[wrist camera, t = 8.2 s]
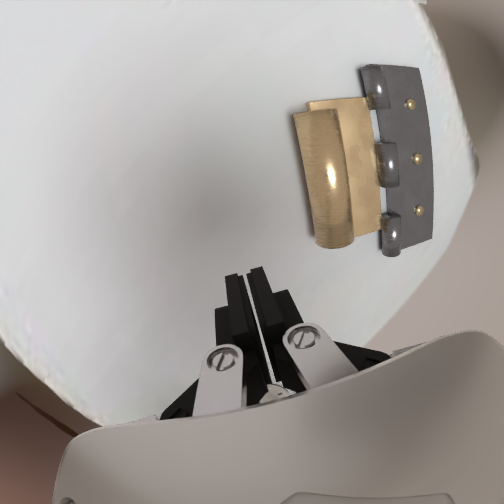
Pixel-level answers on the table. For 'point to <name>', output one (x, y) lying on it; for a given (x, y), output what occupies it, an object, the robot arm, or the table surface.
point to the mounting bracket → (422, 1)
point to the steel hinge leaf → (402, 154)
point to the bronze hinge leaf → (340, 169)
